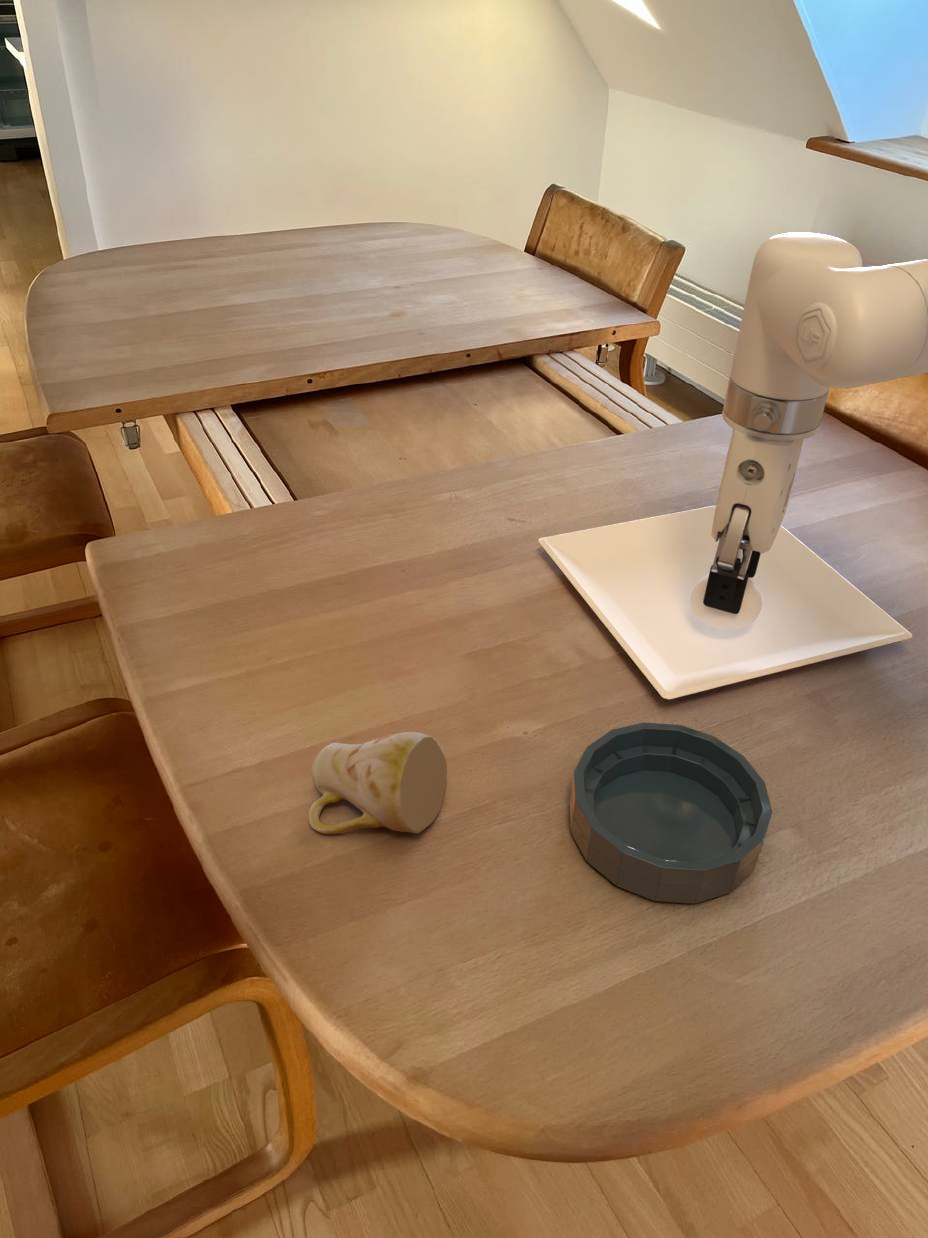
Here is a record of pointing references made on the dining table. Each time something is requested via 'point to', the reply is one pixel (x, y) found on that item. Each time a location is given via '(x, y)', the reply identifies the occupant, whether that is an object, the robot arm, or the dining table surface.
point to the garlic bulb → (722, 618)
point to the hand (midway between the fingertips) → (729, 588)
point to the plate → (687, 647)
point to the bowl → (668, 812)
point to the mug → (382, 782)
